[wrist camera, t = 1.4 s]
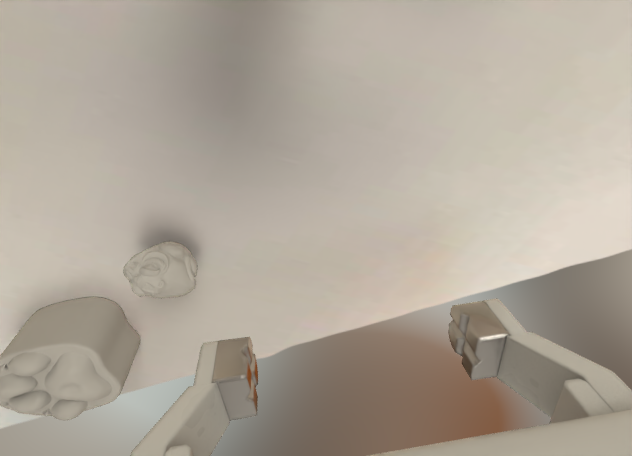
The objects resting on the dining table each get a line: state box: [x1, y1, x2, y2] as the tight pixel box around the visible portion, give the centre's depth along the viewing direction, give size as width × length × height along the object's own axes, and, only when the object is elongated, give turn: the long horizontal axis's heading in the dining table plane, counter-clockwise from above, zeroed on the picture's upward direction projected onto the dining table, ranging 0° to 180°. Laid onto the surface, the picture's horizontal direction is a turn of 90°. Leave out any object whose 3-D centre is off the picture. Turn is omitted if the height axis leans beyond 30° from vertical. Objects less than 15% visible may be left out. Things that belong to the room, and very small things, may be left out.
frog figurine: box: [123, 241, 198, 299], centre depth 38 cm, size 6×7×7 cm
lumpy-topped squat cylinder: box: [0, 297, 140, 420], centre depth 41 cm, size 10×13×9 cm
